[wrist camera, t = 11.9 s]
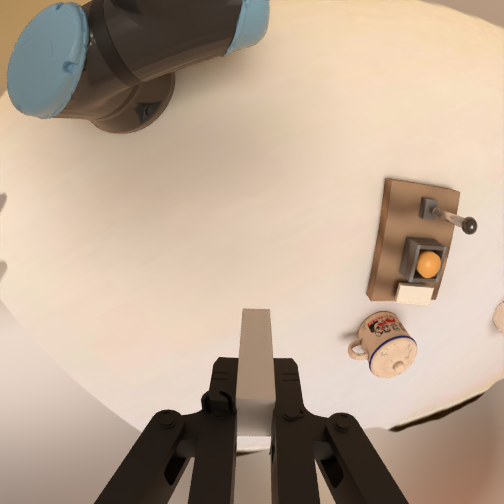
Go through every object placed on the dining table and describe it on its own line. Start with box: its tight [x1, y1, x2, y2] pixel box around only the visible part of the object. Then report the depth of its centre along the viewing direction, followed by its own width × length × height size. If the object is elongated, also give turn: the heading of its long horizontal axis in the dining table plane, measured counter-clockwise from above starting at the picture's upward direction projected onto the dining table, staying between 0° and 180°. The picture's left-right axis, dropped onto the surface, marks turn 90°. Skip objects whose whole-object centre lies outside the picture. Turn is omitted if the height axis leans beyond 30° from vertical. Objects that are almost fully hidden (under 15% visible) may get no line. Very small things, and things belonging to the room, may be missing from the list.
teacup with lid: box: [348, 312, 417, 378], centre depth 46 cm, size 12×9×12 cm
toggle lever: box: [432, 208, 477, 235], centre depth 34 cm, size 2×2×9 cm
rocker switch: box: [395, 283, 434, 305], centre depth 43 cm, size 3×6×1 cm, turn 88°
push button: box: [415, 249, 441, 278], centre depth 40 cm, size 4×4×3 cm
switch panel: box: [366, 178, 460, 301], centre depth 42 cm, size 20×14×6 cm
